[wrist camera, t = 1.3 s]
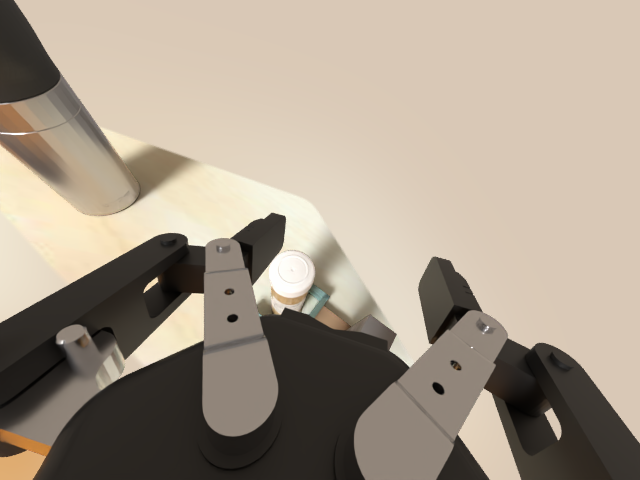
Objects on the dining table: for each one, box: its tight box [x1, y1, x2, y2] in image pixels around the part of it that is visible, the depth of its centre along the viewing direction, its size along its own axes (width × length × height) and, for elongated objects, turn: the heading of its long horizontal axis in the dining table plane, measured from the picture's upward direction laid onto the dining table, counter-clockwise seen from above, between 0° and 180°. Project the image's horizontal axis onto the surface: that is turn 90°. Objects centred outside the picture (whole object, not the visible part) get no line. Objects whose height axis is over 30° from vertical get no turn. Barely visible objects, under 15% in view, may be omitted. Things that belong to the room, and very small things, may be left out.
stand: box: [259, 284, 397, 350], centre depth 27 cm, size 16×9×12 cm, turn 54°
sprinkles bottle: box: [269, 250, 315, 315], centre depth 28 cm, size 5×5×13 cm
